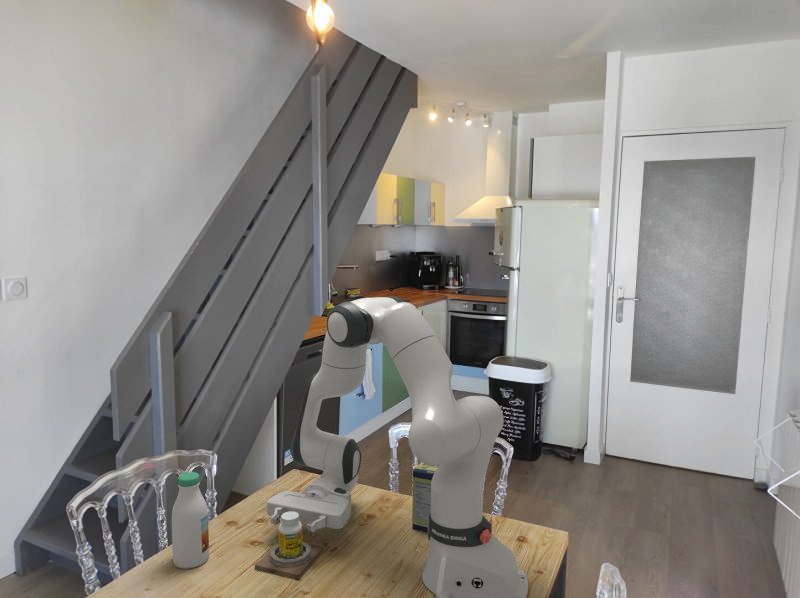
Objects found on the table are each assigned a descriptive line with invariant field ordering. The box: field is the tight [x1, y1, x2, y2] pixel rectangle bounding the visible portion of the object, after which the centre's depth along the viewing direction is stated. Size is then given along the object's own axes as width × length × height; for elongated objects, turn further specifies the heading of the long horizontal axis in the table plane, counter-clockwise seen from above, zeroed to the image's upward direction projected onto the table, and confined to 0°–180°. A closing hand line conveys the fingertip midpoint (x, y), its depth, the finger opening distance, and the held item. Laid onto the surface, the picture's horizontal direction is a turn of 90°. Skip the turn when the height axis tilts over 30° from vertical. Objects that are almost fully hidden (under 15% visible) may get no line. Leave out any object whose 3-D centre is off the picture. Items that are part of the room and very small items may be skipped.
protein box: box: [411, 461, 439, 533], centre depth 148 cm, size 10×16×16 cm
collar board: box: [254, 541, 325, 580], centre depth 130 cm, size 11×12×2 cm
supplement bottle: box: [277, 511, 303, 559], centre depth 129 cm, size 5×5×10 cm
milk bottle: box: [171, 471, 210, 570], centre depth 128 cm, size 8×8×20 cm
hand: (291, 524), depth 129 cm, fingers open, 8 cm apart
